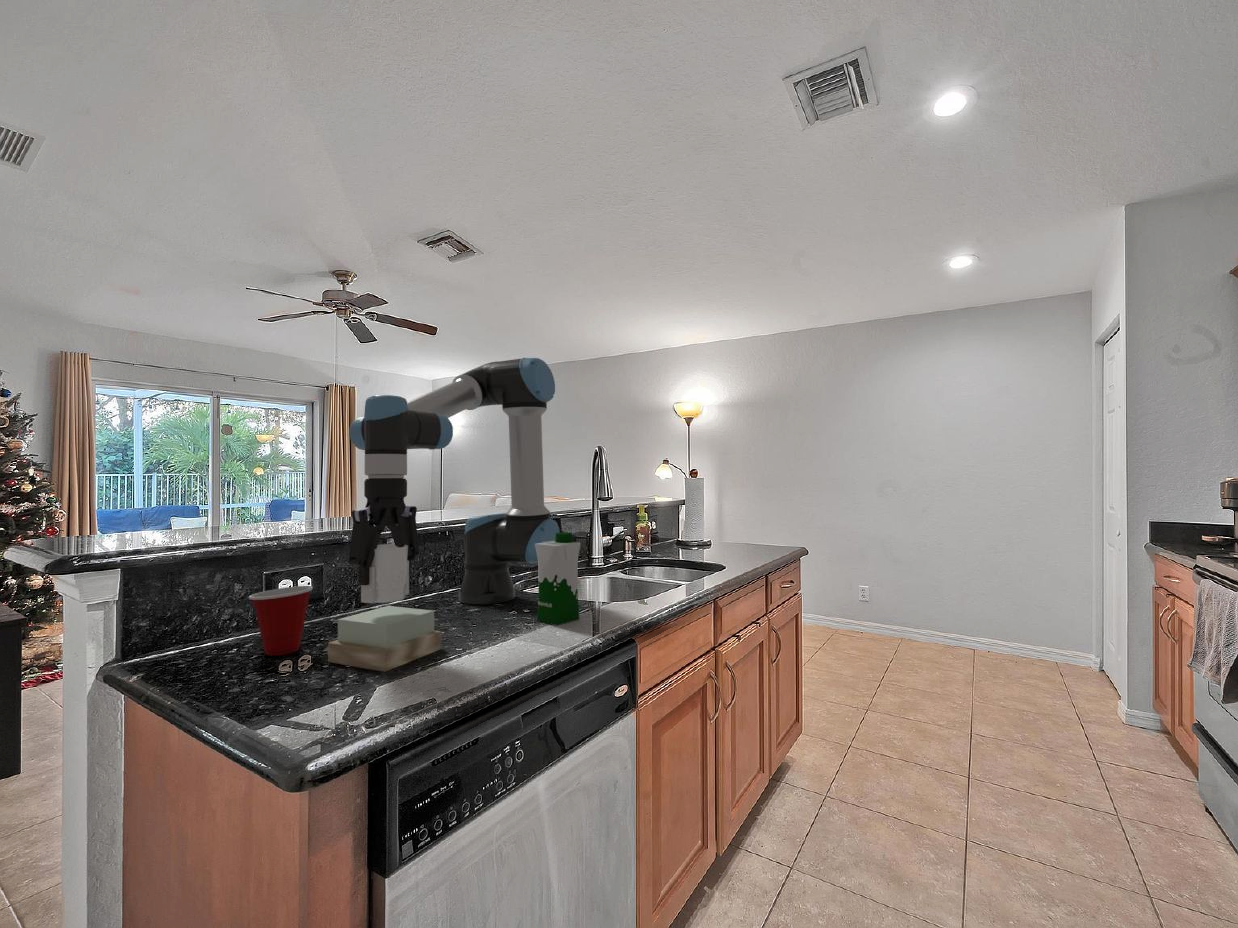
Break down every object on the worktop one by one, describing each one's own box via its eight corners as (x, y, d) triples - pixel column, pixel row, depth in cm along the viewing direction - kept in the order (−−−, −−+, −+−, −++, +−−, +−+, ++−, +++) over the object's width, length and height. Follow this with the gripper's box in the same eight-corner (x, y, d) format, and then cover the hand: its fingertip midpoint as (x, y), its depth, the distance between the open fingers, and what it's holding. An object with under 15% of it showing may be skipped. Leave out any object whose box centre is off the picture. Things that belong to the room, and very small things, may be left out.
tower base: (387, 643, 116) (387, 624, 116) (441, 651, 111) (441, 631, 111) (327, 664, 104) (327, 642, 104) (384, 674, 98) (384, 651, 98)
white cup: (397, 593, 113) (397, 543, 113) (415, 599, 107) (415, 546, 107) (356, 599, 107) (356, 546, 108) (372, 606, 102) (372, 550, 102)
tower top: (388, 625, 116) (388, 605, 116) (434, 631, 111) (434, 610, 111) (337, 641, 105) (337, 619, 105) (386, 648, 100) (386, 625, 100)
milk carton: (585, 619, 133) (584, 533, 133) (556, 627, 126) (555, 536, 126) (559, 613, 138) (558, 531, 139) (530, 620, 132) (530, 534, 132)
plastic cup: (272, 642, 116) (273, 583, 116) (324, 643, 115) (324, 583, 115) (233, 660, 105) (234, 594, 105) (290, 660, 104) (290, 595, 105)
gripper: (410, 477, 119) (410, 587, 118) (324, 477, 100) (324, 607, 99) (438, 477, 116) (438, 589, 115) (355, 477, 97) (355, 611, 96)
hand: (385, 597), depth 107 cm, fingers closed on white cup, 7 cm apart
